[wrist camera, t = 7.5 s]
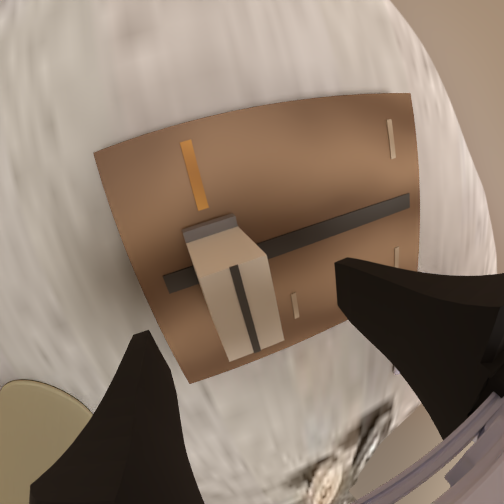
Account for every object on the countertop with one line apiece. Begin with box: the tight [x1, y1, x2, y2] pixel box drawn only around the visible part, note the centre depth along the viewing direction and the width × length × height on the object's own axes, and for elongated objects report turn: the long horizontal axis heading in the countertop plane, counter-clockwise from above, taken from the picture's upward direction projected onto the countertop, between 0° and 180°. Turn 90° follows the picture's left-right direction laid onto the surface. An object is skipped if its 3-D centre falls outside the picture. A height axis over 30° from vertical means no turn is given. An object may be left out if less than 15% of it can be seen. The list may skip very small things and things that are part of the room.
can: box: [0, 380, 93, 504], centre depth 11 cm, size 9×9×12 cm
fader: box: [182, 213, 284, 362], centre depth 12 cm, size 5×2×4 cm, turn 12°
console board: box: [94, 93, 420, 384], centre depth 16 cm, size 14×18×2 cm
